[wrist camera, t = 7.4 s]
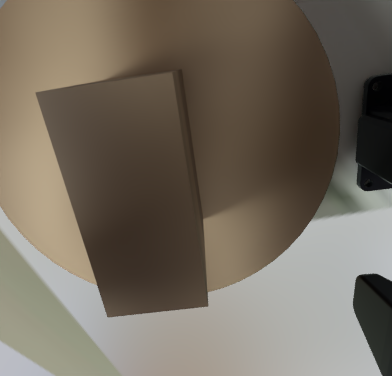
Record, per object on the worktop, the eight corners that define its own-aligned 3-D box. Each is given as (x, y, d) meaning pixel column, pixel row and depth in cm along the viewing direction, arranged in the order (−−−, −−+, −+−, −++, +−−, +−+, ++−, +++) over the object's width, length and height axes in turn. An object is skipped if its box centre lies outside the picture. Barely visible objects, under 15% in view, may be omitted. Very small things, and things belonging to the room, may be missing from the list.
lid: (338, -92, 10) (522, -290, 4) (326, 269, 15) (400, 385, 10) (-81, -22, 10) (-385, -117, 5) (49, 300, 16) (-27, 425, 10)
